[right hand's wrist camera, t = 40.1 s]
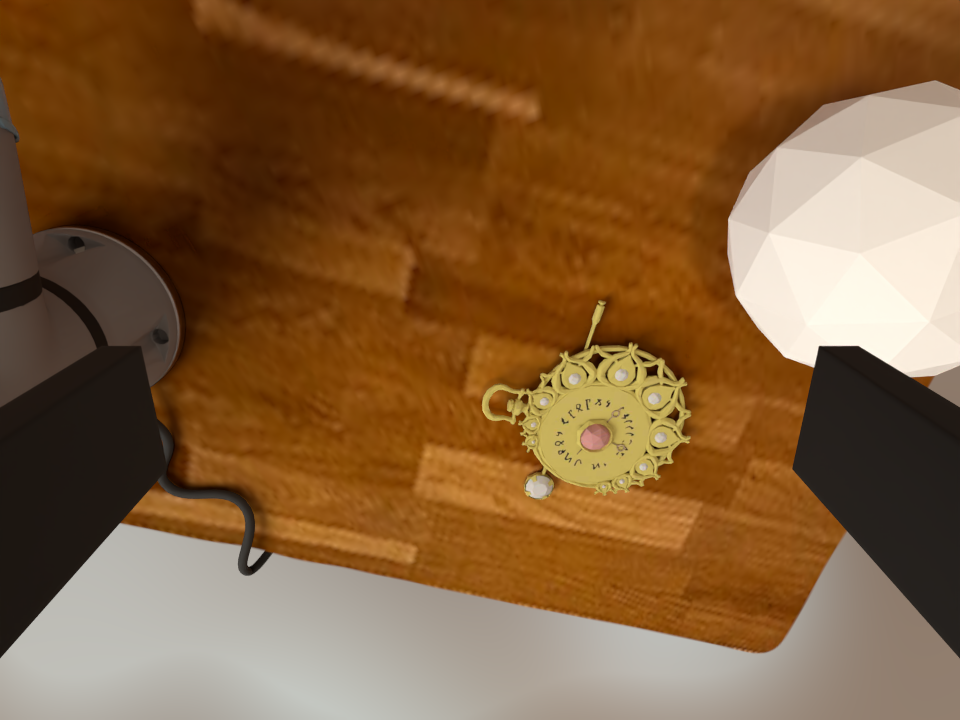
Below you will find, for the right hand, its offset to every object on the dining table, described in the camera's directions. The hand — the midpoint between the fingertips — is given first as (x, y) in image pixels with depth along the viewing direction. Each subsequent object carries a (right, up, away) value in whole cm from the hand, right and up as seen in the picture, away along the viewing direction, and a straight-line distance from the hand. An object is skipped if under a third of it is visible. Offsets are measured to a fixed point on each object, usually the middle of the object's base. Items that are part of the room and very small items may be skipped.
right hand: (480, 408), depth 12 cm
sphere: (+27, +13, +39) cm, 49 cm away
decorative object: (+10, -4, +45) cm, 46 cm away
